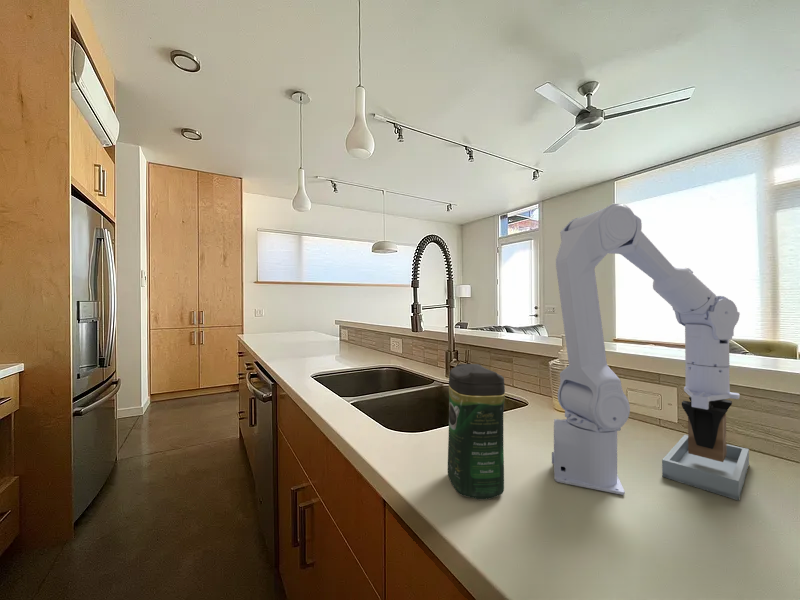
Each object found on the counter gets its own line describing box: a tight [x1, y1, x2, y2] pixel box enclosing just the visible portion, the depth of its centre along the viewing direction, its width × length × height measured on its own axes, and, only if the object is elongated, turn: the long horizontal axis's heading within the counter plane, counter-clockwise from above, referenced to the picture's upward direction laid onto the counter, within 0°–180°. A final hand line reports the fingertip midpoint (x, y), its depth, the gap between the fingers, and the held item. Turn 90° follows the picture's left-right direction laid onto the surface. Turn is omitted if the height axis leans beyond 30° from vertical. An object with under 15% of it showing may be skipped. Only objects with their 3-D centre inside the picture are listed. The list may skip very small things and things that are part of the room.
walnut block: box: [687, 413, 728, 462], centre depth 58 cm, size 4×4×7 cm
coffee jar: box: [447, 363, 506, 501], centre depth 53 cm, size 10×8×19 cm
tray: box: [661, 434, 750, 501], centre depth 58 cm, size 18×9×3 cm, turn 131°
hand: (707, 442), depth 58 cm, fingers closed on walnut block, 4 cm apart
